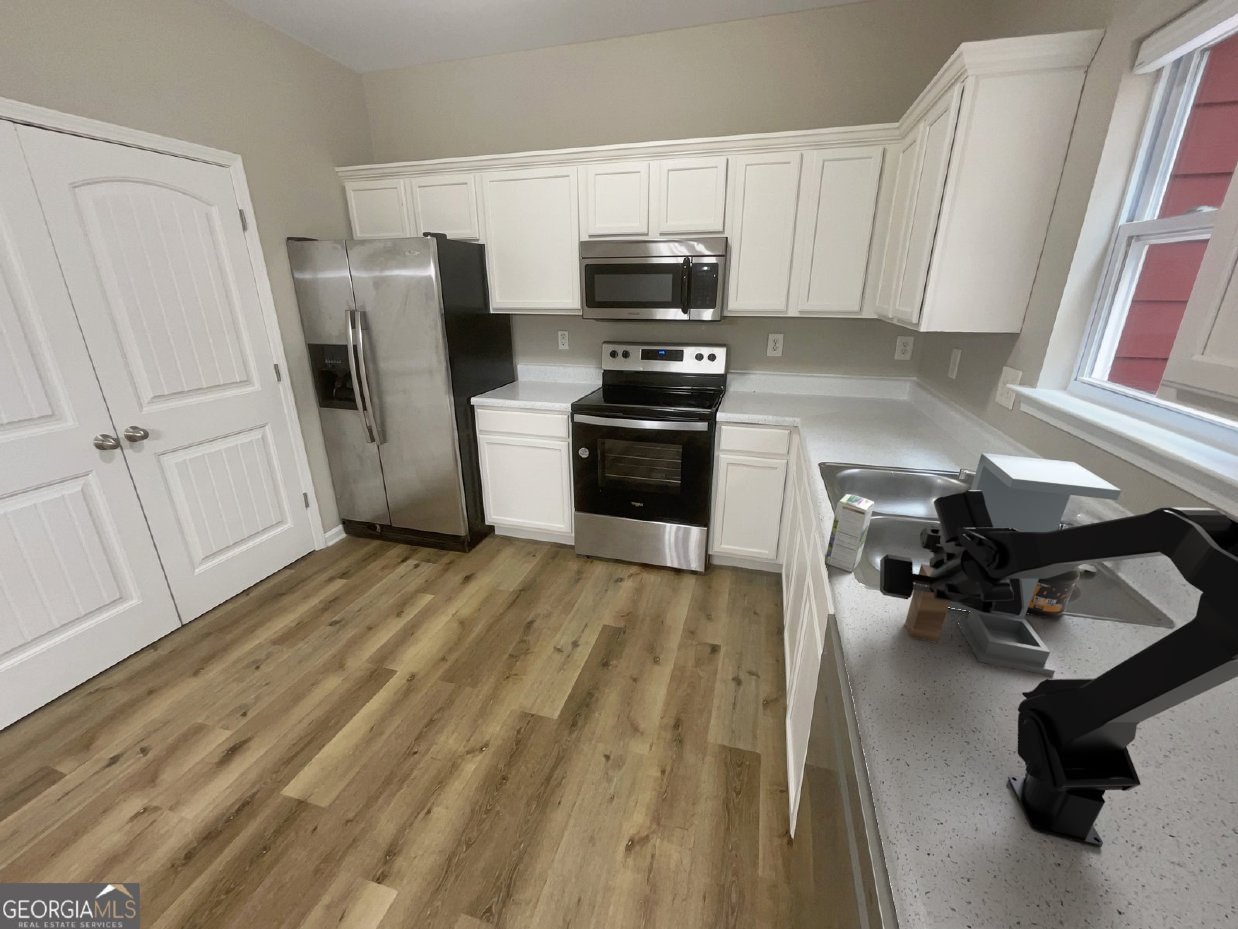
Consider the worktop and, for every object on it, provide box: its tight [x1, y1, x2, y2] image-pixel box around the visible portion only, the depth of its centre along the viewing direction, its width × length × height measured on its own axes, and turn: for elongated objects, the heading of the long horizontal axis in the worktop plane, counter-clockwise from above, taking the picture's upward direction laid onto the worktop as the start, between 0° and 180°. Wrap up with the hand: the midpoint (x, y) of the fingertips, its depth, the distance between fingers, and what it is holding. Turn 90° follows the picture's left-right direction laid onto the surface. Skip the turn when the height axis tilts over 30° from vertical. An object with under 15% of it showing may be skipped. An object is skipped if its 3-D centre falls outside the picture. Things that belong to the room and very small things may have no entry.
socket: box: [957, 610, 1056, 677], centre depth 82 cm, size 10×10×4 cm
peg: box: [904, 563, 950, 644], centre depth 83 cm, size 4×4×12 cm
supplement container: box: [1026, 565, 1081, 618], centre depth 92 cm, size 10×10×12 cm
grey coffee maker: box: [949, 452, 1122, 619], centre depth 81 cm, size 12×13×30 cm
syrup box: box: [824, 493, 875, 573], centre depth 103 cm, size 6×6×14 cm
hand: (927, 595), depth 84 cm, fingers open, 9 cm apart
